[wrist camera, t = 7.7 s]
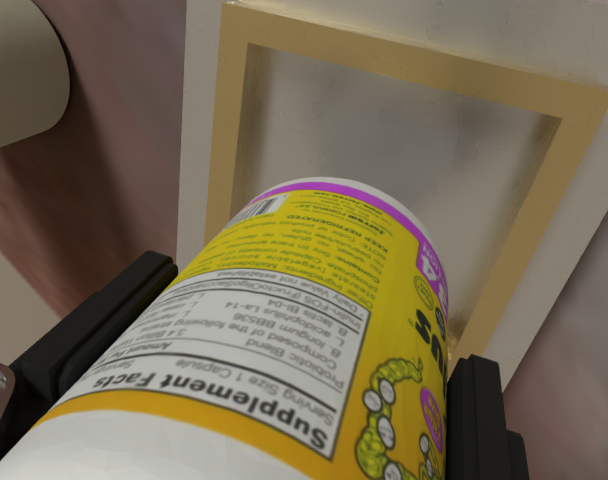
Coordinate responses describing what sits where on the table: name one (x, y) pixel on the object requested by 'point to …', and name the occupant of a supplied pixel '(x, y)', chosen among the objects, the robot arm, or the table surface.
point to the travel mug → (29, 72)
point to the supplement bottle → (272, 356)
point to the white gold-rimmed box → (413, 134)
